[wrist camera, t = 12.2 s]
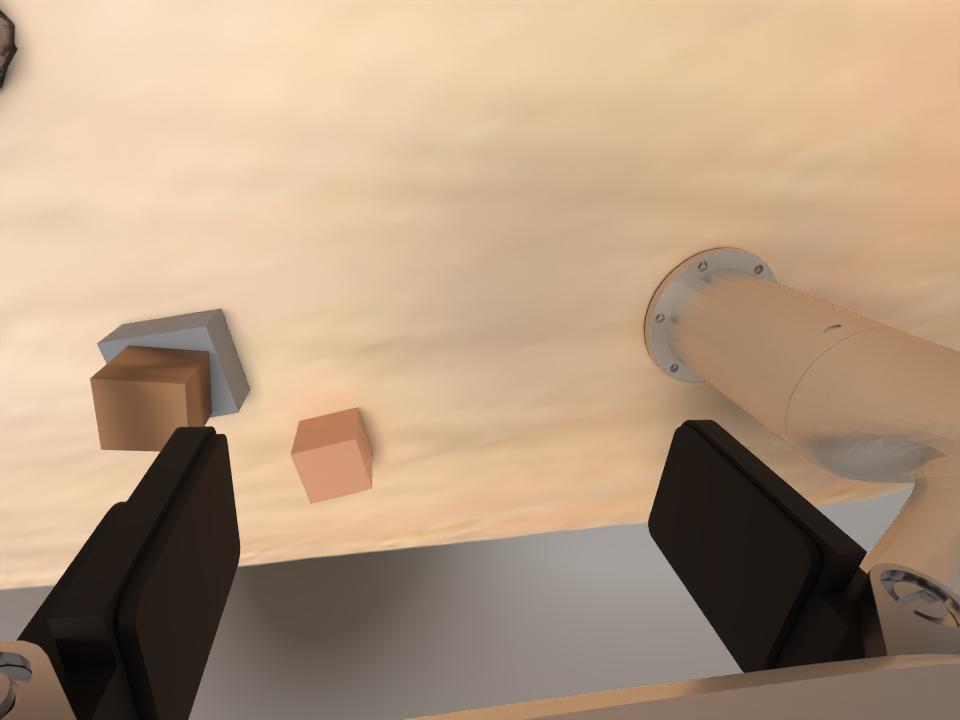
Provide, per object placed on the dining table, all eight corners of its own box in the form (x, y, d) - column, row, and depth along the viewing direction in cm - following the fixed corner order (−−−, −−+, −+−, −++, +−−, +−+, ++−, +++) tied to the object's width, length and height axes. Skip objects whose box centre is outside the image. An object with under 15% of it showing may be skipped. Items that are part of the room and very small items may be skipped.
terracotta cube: (357, 407, 43) (355, 438, 39) (372, 453, 45) (371, 488, 41) (299, 420, 43) (290, 454, 38) (317, 466, 45) (310, 503, 40)
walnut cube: (208, 351, 35) (184, 384, 30) (212, 412, 37) (189, 452, 32) (127, 345, 34) (90, 378, 29) (135, 409, 36) (101, 449, 31)
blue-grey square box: (222, 307, 38) (205, 326, 34) (250, 387, 41) (238, 412, 37) (124, 322, 37) (96, 343, 33) (161, 403, 40) (139, 430, 36)
